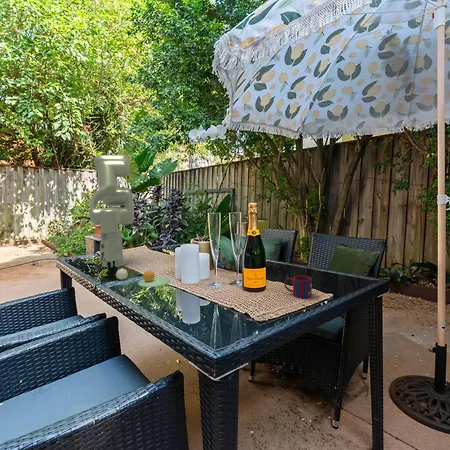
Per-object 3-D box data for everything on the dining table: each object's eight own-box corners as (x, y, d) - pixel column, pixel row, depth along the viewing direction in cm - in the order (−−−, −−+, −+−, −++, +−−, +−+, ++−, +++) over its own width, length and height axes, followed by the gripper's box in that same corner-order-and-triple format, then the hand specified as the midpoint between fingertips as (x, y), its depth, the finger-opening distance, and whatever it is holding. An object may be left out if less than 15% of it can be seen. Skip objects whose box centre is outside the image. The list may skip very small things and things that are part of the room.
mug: (308, 300, 110) (308, 281, 109) (281, 295, 116) (281, 277, 115) (313, 294, 116) (314, 276, 115) (288, 290, 121) (288, 273, 120)
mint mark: (131, 285, 132) (131, 284, 132) (150, 276, 145) (150, 276, 145) (159, 288, 127) (159, 287, 127) (176, 279, 140) (176, 278, 140)
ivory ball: (122, 274, 137) (121, 283, 139) (130, 269, 141) (129, 278, 143) (114, 269, 139) (113, 278, 141) (122, 265, 143) (121, 274, 145)
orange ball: (152, 275, 133) (148, 285, 135) (158, 272, 138) (154, 281, 139) (143, 269, 135) (139, 279, 136) (149, 267, 139) (145, 276, 141)
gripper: (104, 238, 134) (107, 280, 136) (127, 234, 148) (129, 271, 150) (91, 238, 137) (94, 278, 139) (114, 233, 150) (116, 270, 153)
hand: (112, 274), depth 144 cm, fingers closed
